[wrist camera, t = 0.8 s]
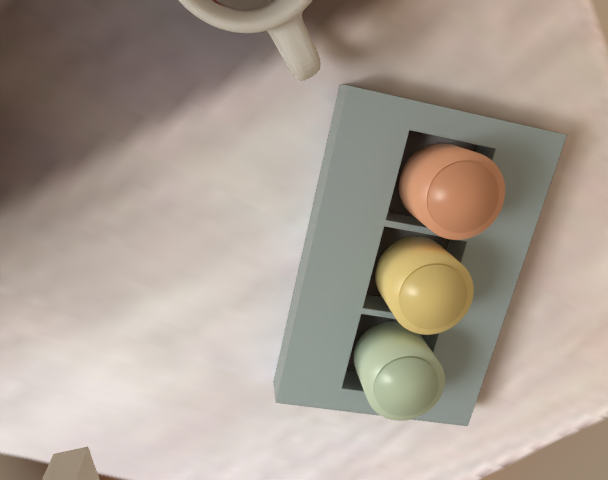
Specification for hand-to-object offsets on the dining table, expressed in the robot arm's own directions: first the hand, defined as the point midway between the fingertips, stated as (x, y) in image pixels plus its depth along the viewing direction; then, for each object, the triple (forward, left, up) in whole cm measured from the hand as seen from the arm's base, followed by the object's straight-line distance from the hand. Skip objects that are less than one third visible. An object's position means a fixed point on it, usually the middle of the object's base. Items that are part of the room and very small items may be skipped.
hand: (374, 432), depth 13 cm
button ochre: (+8, -2, -21) cm, 23 cm away
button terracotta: (+8, +4, -21) cm, 23 cm away
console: (+8, -2, -23) cm, 25 cm away
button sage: (+8, -8, -21) cm, 24 cm away
